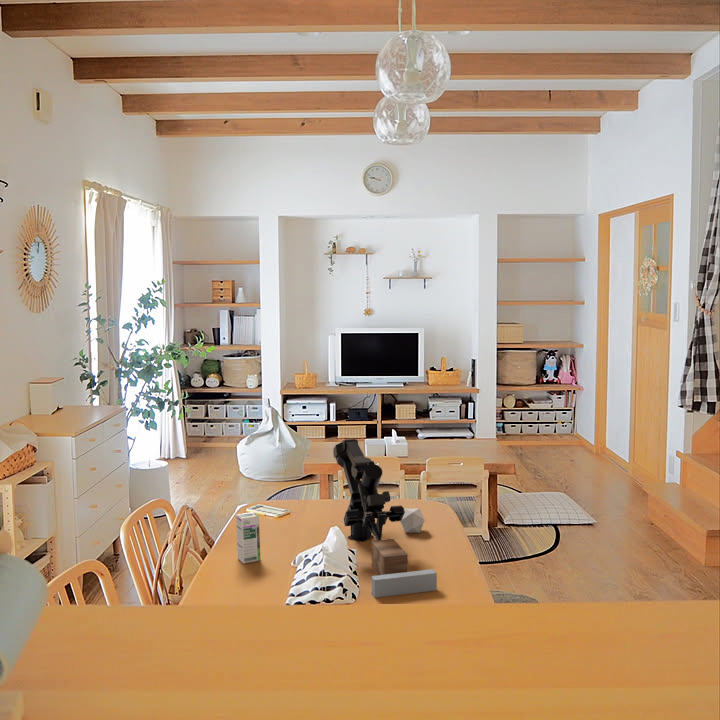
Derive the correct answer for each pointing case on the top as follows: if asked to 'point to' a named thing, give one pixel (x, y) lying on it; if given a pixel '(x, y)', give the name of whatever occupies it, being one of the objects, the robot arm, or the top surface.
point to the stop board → (404, 583)
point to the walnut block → (388, 557)
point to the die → (412, 521)
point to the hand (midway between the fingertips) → (379, 540)
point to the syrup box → (248, 537)
